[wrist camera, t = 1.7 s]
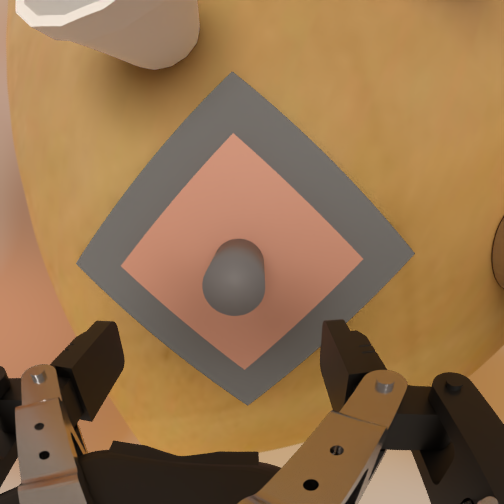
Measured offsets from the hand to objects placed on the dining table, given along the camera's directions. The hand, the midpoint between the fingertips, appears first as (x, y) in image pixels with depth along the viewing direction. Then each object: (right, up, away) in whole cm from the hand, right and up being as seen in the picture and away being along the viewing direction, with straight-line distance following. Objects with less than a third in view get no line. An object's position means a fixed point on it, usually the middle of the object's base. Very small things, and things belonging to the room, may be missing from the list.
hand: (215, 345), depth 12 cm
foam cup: (-6, +21, +9) cm, 23 cm away
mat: (0, +3, +13) cm, 13 cm away
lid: (0, +3, +12) cm, 13 cm away
